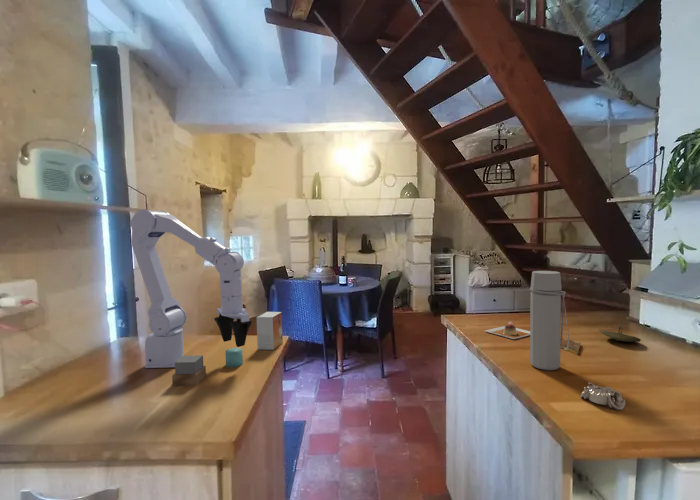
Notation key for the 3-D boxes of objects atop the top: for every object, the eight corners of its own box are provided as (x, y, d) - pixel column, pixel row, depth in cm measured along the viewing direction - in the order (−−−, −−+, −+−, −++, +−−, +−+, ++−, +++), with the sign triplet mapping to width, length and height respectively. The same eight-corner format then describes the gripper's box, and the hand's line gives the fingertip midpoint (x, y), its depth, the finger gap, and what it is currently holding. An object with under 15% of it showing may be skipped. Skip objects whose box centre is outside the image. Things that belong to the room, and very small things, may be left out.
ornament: (632, 405, 79) (632, 388, 78) (616, 415, 75) (617, 397, 75) (590, 392, 85) (590, 376, 85) (574, 400, 82) (574, 383, 81)
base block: (172, 387, 94) (172, 375, 94) (183, 377, 100) (182, 366, 100) (197, 386, 94) (196, 374, 94) (206, 377, 100) (205, 365, 100)
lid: (594, 341, 121) (594, 326, 120) (606, 335, 127) (607, 320, 126) (634, 349, 112) (634, 333, 112) (645, 343, 118) (646, 327, 118)
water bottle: (531, 370, 98) (531, 273, 97) (528, 360, 106) (528, 270, 104) (571, 374, 95) (572, 274, 94) (566, 363, 102) (566, 270, 101)
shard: (577, 356, 109) (577, 350, 109) (547, 352, 113) (548, 346, 113) (581, 346, 117) (581, 341, 117) (553, 343, 122) (553, 337, 122)
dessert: (514, 342, 124) (514, 327, 124) (484, 333, 134) (484, 320, 134) (536, 336, 130) (537, 322, 130) (506, 328, 140) (506, 315, 140)
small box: (273, 350, 120) (272, 317, 119) (257, 349, 121) (255, 316, 120) (283, 342, 127) (282, 311, 127) (267, 342, 128) (266, 311, 128)
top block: (175, 374, 94) (174, 362, 94) (184, 367, 99) (183, 355, 99) (195, 374, 94) (194, 362, 94) (203, 366, 99) (203, 355, 99)
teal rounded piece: (223, 367, 106) (223, 353, 105) (228, 361, 110) (228, 348, 110) (240, 367, 106) (239, 352, 105) (244, 361, 110) (244, 347, 110)
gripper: (258, 296, 105) (260, 344, 105) (231, 291, 115) (234, 335, 116) (234, 300, 100) (236, 351, 100) (209, 294, 110) (211, 340, 111)
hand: (233, 343), depth 108 cm, fingers open, 7 cm apart
